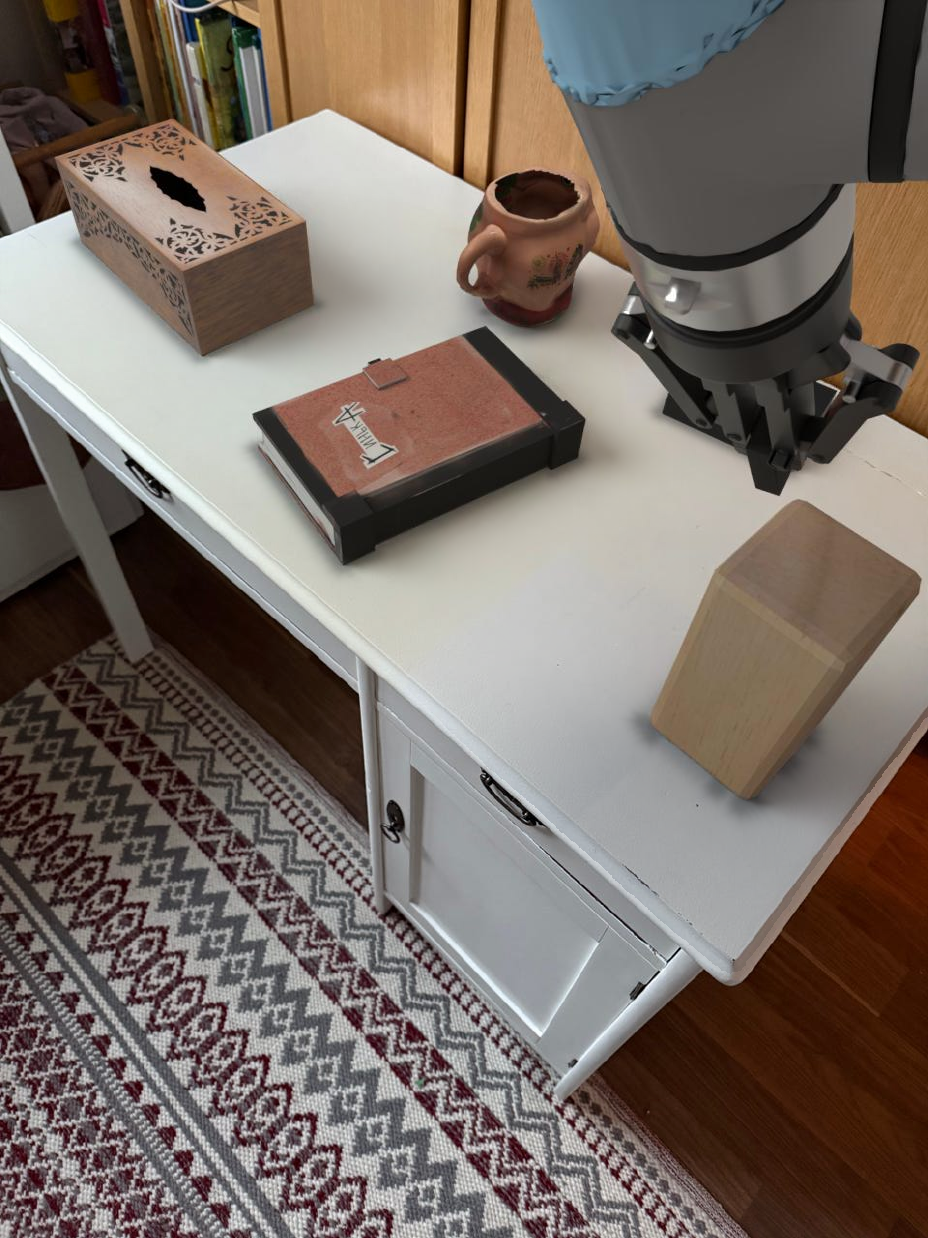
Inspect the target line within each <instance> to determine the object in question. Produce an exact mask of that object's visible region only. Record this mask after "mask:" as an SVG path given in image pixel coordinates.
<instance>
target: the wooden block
mask: <svg viewBox="0 0 928 1238" xmlns="http://www.w3.org/2000/svg"><path fill="white" fill-rule="evenodd" d="M922 580H923V578H922V577H921V576H920V575H919V574H918V572H917V571H916V570H915V569H913V568H911V567H910V566H908V565H907V564H905V563H904V562H902V561H901V560H899V559H897V558H896V557H894V556H892V555H891V554H890V553H888V552H887V551H885V550H883V549H882V548H881V547H880V546H877V545H876V544H874V543H872V542H871V541H869V540H868V539H866V538H865V537H863V536H862V535H861V534H858V533H857V532H856V531H854V530H852V529H851V528H849V527H848V526H846V525H845V524H843V523H841V522H840V521H838V520H837V519H836V518H833V516H830V515H829V514H828V513H826V512H825V511H823V510H821V509H820V508H818V507H817V506H815V505H813V504H812V503H810V502H809V501H807V500H803V499H800V498H797V499H793V500H792V501H790V502H789V503H787V504H785V505H784V506H783V507H782V508H781V509H780V510H778V512H777V513H776V514H774V515H773V516H772V517H771V518H770V519H768V521H767V522H765V523H764V524H763V525H762V526H761V527H760V528H759V529H758V530H757V531H756V532H755V533H753V535H751V536H750V537H749V538H747V540H746V541H745V542H744V543H742V544H741V545H740V546H739V547H738V548H737V549H736V550H735V551H734V552H732V553H731V554H730V555H729V556H728V557H727V558H726V559H725V560H724V561H723V562H722V563H721V564H720V565H719V566H717V567H716V568H715V569H714V571H713V574H712V576H711V578H710V581H709V583H708V585H707V588H706V589H705V591H704V594H703V596H702V598H701V601H700V603H699V605H698V608H697V609H696V612H695V613H694V616H693V618H692V620H691V623H690V625H689V627H688V629H687V631H686V634H685V637H684V639H683V641H682V643H681V645H680V648H679V650H678V652H677V654H676V656H675V659H674V661H673V663H672V665H671V668H670V670H669V673H668V675H667V677H666V679H665V681H664V683H663V686H662V688H661V691H660V693H659V695H658V696H657V699H656V701H655V704H654V706H653V709H652V711H651V714H650V717H649V723H650V724H651V725H652V727H653V728H654V730H655V731H657V732H658V733H660V735H662V736H663V737H664V738H666V739H667V740H668V741H669V742H671V743H672V744H673V745H674V746H675V747H676V748H678V749H679V750H680V751H682V752H683V753H684V754H685V755H686V756H687V757H689V758H690V759H691V760H692V761H694V762H695V763H696V764H697V765H699V766H700V768H702V769H703V770H705V771H706V772H707V773H708V774H710V775H711V776H712V777H713V778H715V779H716V780H717V781H718V782H719V783H720V784H721V785H723V786H724V787H726V788H727V789H728V790H729V791H730V792H732V793H733V794H734V795H735V796H737V797H738V798H740V799H742V800H746V801H747V800H750V799H752V798H754V797H758V795H759V794H760V793H761V792H762V791H763V790H764V788H765V787H766V786H767V785H768V784H769V783H770V782H771V780H772V779H773V778H774V777H775V776H776V775H777V773H778V772H779V771H781V769H782V768H783V767H784V766H785V764H786V763H788V761H789V760H790V759H791V757H792V756H793V755H794V754H795V753H796V752H797V751H798V750H799V749H800V747H802V745H803V744H804V743H805V742H806V740H807V739H809V737H810V736H811V735H812V733H813V732H814V731H815V729H817V727H818V726H819V725H820V723H821V722H822V721H823V720H824V718H825V717H826V716H827V714H828V713H829V712H830V711H831V709H832V708H833V706H834V705H835V704H836V702H837V701H838V700H839V699H840V698H841V696H842V695H843V694H844V692H845V691H846V690H847V689H848V687H849V686H850V685H851V683H852V682H853V681H854V679H855V678H856V677H857V675H858V674H859V673H860V672H861V670H862V669H863V668H864V666H865V665H866V664H867V662H868V661H869V660H870V658H871V657H872V656H873V654H874V653H875V652H876V650H877V649H878V648H879V647H880V645H881V644H882V642H883V641H884V640H885V639H886V638H887V636H888V635H889V634H890V632H891V631H892V630H893V629H894V627H895V626H896V624H897V623H898V622H899V620H901V618H902V617H903V615H904V614H905V613H906V612H907V610H908V609H909V608H910V606H911V605H912V603H913V602H914V601H915V600H916V598H917V597H918V596H919V595H920V592H921V584H922Z"/></svg>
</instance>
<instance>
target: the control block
mask: <svg viewBox="0 0 928 1238" xmlns="http://www.w3.org/2000/svg"><path fill="white" fill-rule="evenodd" d="M813 386H814V404H815V415H814V416H819V417H824V415H825V413H826V411H827V409H828V408H829V407H830V405H831V404H832V402H833V401H834V399H835V398H836V396H837V393H838V390H837V389H834V388H833V387H830V386H828V385H825V384H822V383H820V382H818V381H816V382H813ZM763 409H764V406H762V411H763ZM662 414H663V415H665V416H667V417H669V418H672V419H673V420H676V421H678V422H680V423H682V424H684V425H687V426H689V427H691V428H693V429H695V430H698V431H699V432H702V433H703V434H707V435H708V436H710V437H713V438H715V439H717V440H719V441H722V442H724V443H726V444H727V445H730V446H732V447H734V445H733V442H732V441H731V440H730V439H729V438H727V437H726V436H725V435H724V432H723V428H722V426H721V425H719V424H716V423H714V424H713V426H712V428H710V429H707V428H701V427H698V426H697V425H696V424H694V423H693V422H692V421H691V420H690V419H689V417H688V416H687V415H686V414H685V412H684V411H683V410H682V409H681V407H680V406H679V405H678V404H677V402H676V401H675V400H674V399H673V397H672V396H671V395H670V394H669V392H667V396H666V399H665V402H664V406H663V408H662Z"/></svg>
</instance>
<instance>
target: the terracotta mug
mask: <svg viewBox="0 0 928 1238" xmlns="http://www.w3.org/2000/svg"><path fill="white" fill-rule="evenodd" d="M600 227H601V223H600V218H599V215H598V213H597V209H596V206H595V204H594V201H593V193H592V187H591V184H590V183H589V181H588V180H586V179H585V178H584V177H582V176H581V175H579V174H577V173H576V172H575V171H573V170H570V169H559V168H558V169H557V168H551V167H545V166H532V167H528V168H523V169H520V170H516V171H513V172H508V173H505V174H503V175H501V176H498V177H497V178H495V179H494V180H493V181H492V182H490V183H489V185H488V186H487V187H486V189H485V191H484V194H483V196H482V199H481V201H480V202H479V204H478V206H477V208H476V209H475V211H474V213H473V216H472V218H471V221H470V224H469V227H468V228H469V229H468V232H467V239H466V240H467V241H466V242H467V244H466V246H465V247H464V249H463V250H462V251H461V254H460V256H459V259H458V261H457V267H456V273H455V274H456V279H455V280H456V282H457V284H458V285H459V288H460V289H461V290H462V291H463V292H465V293H466V294H469V295H470V296H472V297H477V298H481V300H482V302H483V304H484V306H485V307H486V308H487V309H488V311H490V313H492V314H493V316H495V317H497V318H498V319H501V320H502V321H504V322H506V323H509V324H511V325H514V326H515V325H516V326H522V327H536V326H541V325H544V324H547V323H549V322H551V321H552V322H553V320H555V319H557V318H558V317H559V316H560V315H561V314H562V313H564V312H565V311H567V310H568V309H569V308H570V307H571V303H572V298H573V290H574V283H575V277H576V273H577V270H578V269H579V266H580V264H581V262H583V260H584V259H585V258H586V256H587V255H588V254H589V253H590V252H591V250H592V249H593V247H594V246H595V243H596V241H597V238H598V235H599V232H600ZM474 266H476V270H477V279H476V281H475V283H474V284H473V285H472V284H471V283H470V279H469V276H470V274H471V270H472V269H473V267H474Z"/></svg>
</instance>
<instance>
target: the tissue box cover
mask: <svg viewBox="0 0 928 1238" xmlns="http://www.w3.org/2000/svg"><path fill="white" fill-rule="evenodd" d="M54 160H55V163H56V166H57V169H58V173H59V175H60V176H59V177H60V179H61V182H62V185H63V188H64V191H65V194H66V197H67V201H68V203H69V206H70V210H71V213H72V216H73V219H74V222H75V225H76V228H77V232H78V235H79V238H80V241H81V243H82V245H84V246H85V247H86V248H87V249H88V250H89V251H90V252H91V253H92V254H94V256H95V257H96V258H98V259H99V260H100V262H102V263H103V264H104V265H105V266H106V267H107V268H108V269H109V270H110V271H111V272H113V274H115V275H116V277H118V279H120V280H121V281H122V282H123V283H124V284H125V285H126V286H127V287H128V288H129V289H130V290H131V291H132V292H134V294H136V295H137V297H139V298H140V299H141V300H142V301H143V302H144V303H145V304H146V305H147V306H148V307H149V308H150V309H151V310H153V312H155V313H156V314H157V315H158V316H159V318H160V319H162V320H163V321H164V322H165V323H166V324H167V325H168V326H169V327H170V328H171V329H173V330H174V332H175V333H176V334H177V335H179V336H180V337H181V338H182V339H183V340H184V341H185V342H186V343H187V344H188V345H189V346H190V347H191V348H193V350H195V351H196V352H197V353H198V354H199V355H200V356H201V357H203V356H205V355H208V354H209V353H212V352H214V351H216V350H219V349H221V348H222V347H225V346H227V345H230V344H232V343H233V342H236V341H238V340H241V339H243V338H244V337H247V336H250V335H251V334H253V333H256V332H258V331H260V330H262V329H265V328H267V327H268V326H270V325H273V324H276V323H277V322H280V321H282V320H285V319H286V318H288V317H291V316H293V315H295V314H297V313H299V312H302V311H304V310H306V309H308V308H310V307H312V306H315V297H314V288H313V287H314V286H313V277H312V269H311V268H312V267H311V258H310V248H309V247H310V246H309V238H308V227H307V220H306V219H304V218H303V217H302V216H301V215H299V214H298V213H297V212H295V210H293V209H291V208H290V207H289V206H287V205H286V204H285V203H284V202H282V201H281V200H280V199H278V198H277V197H276V196H275V195H273V194H272V193H271V192H269V191H268V190H267V189H266V188H264V187H263V186H262V185H260V183H257V182H256V181H255V180H254V179H253V178H251V177H250V176H249V175H247V174H246V173H244V171H242V170H241V169H239V168H238V167H237V166H236V165H235V164H233V163H231V162H230V161H229V160H228V159H226V157H224V156H223V155H222V154H220V153H219V152H217V151H216V150H215V149H213V148H212V147H211V146H210V145H209V144H207V143H206V142H204V141H203V140H202V139H201V138H199V137H198V136H197V135H195V134H194V133H193V132H192V131H190V130H189V129H188V128H186V127H185V126H184V125H183V124H181V122H179V121H177V120H176V119H175V118H169V119H167V120H163V121H161V122H157V123H155V124H152V125H148V126H145V127H142V128H138V129H137V130H132V131H129V132H127V133H124V134H121V135H118V136H114V137H112V138H109V139H105V140H103V141H99V142H97V143H94V144H91V145H87V146H84V147H81V148H78V149H76V150H72V151H70V152H66V153H63V154H60V155H57V156H54Z"/></svg>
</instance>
